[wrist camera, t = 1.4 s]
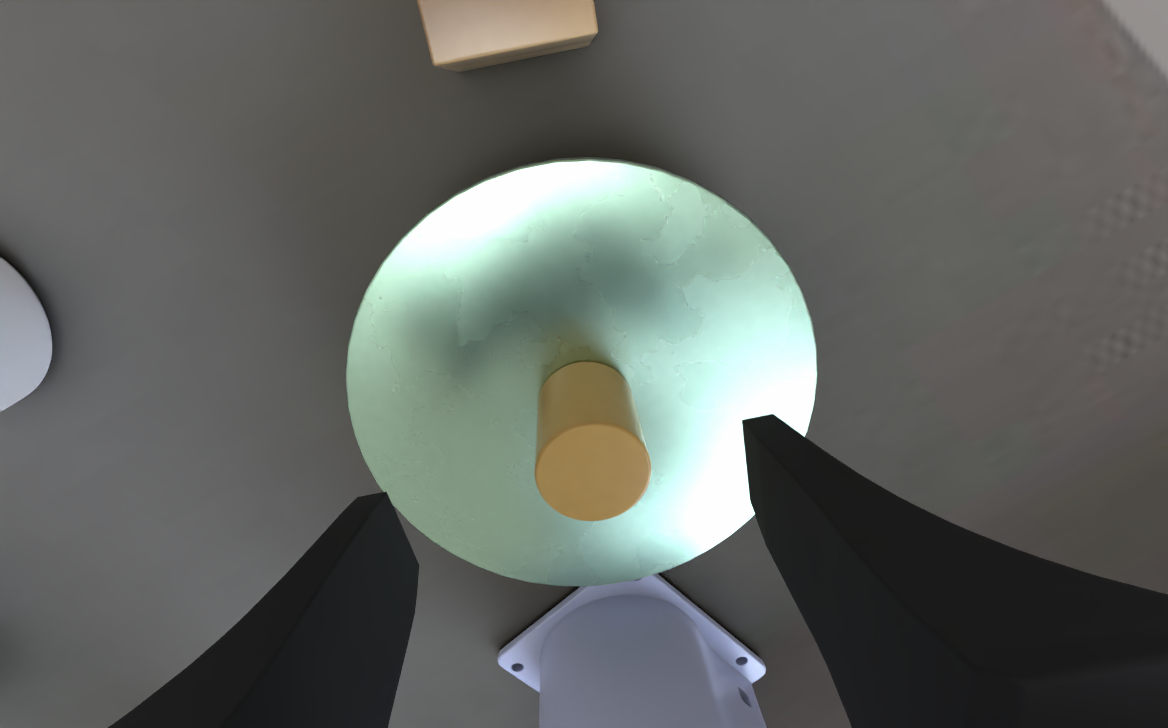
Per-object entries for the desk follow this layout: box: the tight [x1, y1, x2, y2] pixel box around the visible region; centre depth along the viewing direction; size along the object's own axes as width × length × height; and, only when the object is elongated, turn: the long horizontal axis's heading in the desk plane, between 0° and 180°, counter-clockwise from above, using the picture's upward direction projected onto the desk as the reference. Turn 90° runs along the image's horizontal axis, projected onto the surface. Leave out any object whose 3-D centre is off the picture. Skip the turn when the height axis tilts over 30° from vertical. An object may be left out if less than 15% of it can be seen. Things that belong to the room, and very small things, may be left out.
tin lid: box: [346, 157, 818, 587], centre depth 16 cm, size 13×13×4 cm
